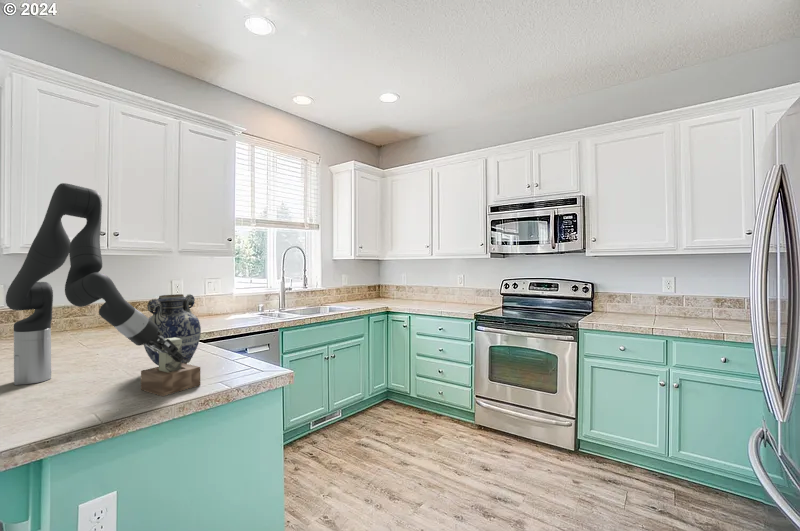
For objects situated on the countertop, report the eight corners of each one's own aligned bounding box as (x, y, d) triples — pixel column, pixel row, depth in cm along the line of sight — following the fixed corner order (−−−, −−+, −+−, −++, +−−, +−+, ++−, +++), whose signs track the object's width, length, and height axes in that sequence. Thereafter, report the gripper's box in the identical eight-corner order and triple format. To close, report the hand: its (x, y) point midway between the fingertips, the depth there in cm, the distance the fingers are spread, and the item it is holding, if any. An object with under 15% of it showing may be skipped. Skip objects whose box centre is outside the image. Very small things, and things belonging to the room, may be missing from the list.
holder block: (162, 396, 118) (162, 376, 118) (141, 389, 124) (140, 370, 124) (200, 385, 128) (200, 367, 128) (178, 379, 134) (178, 362, 134)
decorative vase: (172, 380, 133) (171, 297, 133) (126, 378, 137) (124, 297, 137) (214, 365, 154) (213, 292, 154) (173, 363, 157) (172, 293, 157)
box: (165, 382, 123) (165, 340, 123) (158, 380, 125) (158, 339, 125) (182, 378, 127) (182, 338, 127) (174, 376, 129) (175, 336, 129)
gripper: (158, 318, 116) (197, 351, 126) (133, 314, 123) (172, 346, 134) (139, 339, 111) (181, 372, 122) (114, 334, 119) (155, 366, 129)
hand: (176, 358), depth 128 cm, fingers closed on box, 4 cm apart
